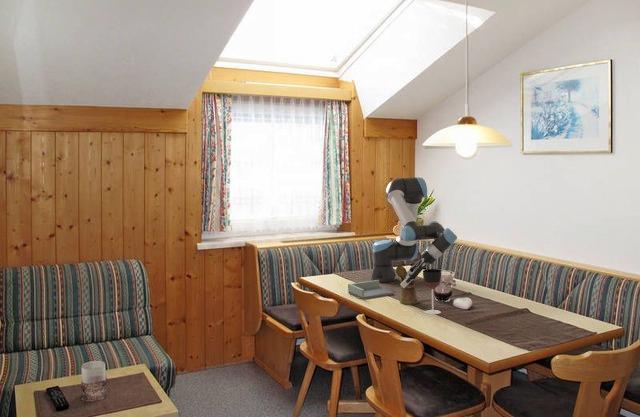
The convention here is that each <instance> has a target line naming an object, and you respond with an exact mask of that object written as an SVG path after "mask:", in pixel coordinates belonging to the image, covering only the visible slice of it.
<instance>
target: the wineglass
mask: <svg viewBox="0 0 640 417" xmlns="http://www.w3.org/2000/svg"><path fill="white" fill-rule="evenodd" d="M422 276H423V281H424V282H423V283H424V285H425V286H426V287H427V288H429V289H431V309H428V310H427V309H426V310H425V312H424V313H425V314H428V315H438V314H441V313H442V312H441V311H440V310H436V309H434V306H435V305H434V289H436V288H437V287H439V286H440V284H441V280H442V270H441V269H438V268H437V269H436V268H428V269H423V270H422Z"/></svg>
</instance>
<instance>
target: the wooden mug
mask: <svg viewBox="0 0 640 417" xmlns="http://www.w3.org/2000/svg"><path fill="white" fill-rule="evenodd" d="M407 271H408V270H407V269H406V268H405V267H404V266H403V265H401V264H398V265H397V267H396V268H395V274H396V276H398V277H399V278H401V279H400V284H401V283H402V282H403V281H404V280H405V279H406V275H407ZM400 288H401V290H400V296H399V297H400V298H399V303H400V304H401V305H409V306H410V305H417V304H418V303H419V302H418V301H419V300H418V298H417V292H416V283H415V281H414V279H413V280H412V281H411V282H410V283H409V284H408V285H407V286H406V287H405V288H403V287H402V286H401V285H400Z"/></svg>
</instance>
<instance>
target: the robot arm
mask: <svg viewBox="0 0 640 417" xmlns="http://www.w3.org/2000/svg"><path fill="white" fill-rule="evenodd" d="M427 196H428V186H427V183H426V180H425V179H424V178H423V177H416V176H414V177H400V178H399V177H398V178H394V179H393V180H391V181H390V182H389V183H388V184H387V186H386V188H385V197H386V198H385V199H386V200H387V202H388V203H389V204H391V205H392V208H393V210H394V212H395V214H396V216H397V218H398V220H399V222H400V229H399V235H398V236H397V237H396V240H395V241H392V239H382V240H378V241H375V242H374V243H373V244H372V260H373V262H372V263H373V265H372V271H371V275H370V281H374V280H379V283H390V282H391V283H392V282H394V281H396V280H397V273H396V270H395V268H394V262H403V261H406V262H407V261H408V262H409V261H413V260H415V259H416V258H418V255H419V243H418V242H417V241H426V240H433V241H432V242H431V243H430V244H429V245H428V246H427V247H426V249H424V250H423V251H422V252H421V253H420V256H421V258H419V259H418V260H417V261H416V262H414V264H412V266H410V268H409V269H408V270H406V271H407V275H406V279H405V280H404V281H403V282H402V283H401V282H400V284H399V285H400V287H401V286H402V287H403V288H405V287H406V286H407V285H408V284H409V283H410V282H411V281H412V280H413V281H414V280H415V279H416V278H417V277H418V275H420V273H421V272H423V270H425V267H427V263H428V264H429V265H433V264H434V263H435V262H436V261H437V259H439V258H440V257H442V256H443V254H444V253H445V252H446V251H447V250H448V248H450V247H451V246H452V245H453V244H454V243H455V242H456V241H457V239H458V236H457V234H455V233H454V231H452V230H451V229H450V228H449V227H447V228H446V229H445V227H443V225H442V224H441V223H439V222H438V221H434V220H433V221H431V222H429V223H428V224H425V225H423V224H422V225H419V224H418V223H417V219H418V218H417V217H418V212H419V205H420V204H422V202H423V199H424V198H427ZM399 278H400V277H399ZM400 280H401V278H400Z"/></svg>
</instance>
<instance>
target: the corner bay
mask: <svg viewBox="0 0 640 417" xmlns="http://www.w3.org/2000/svg"><path fill="white" fill-rule="evenodd" d="M347 292H348V294H349V295H352V296H354V297H356V298H359V299H361V300H366V299H367V300H368V299H373V298H379V297H385V296H392V295H394V292H393V291H391V290H388V289H386V288H383V287H381V286H380V282H379V280H374V281H372V280H368V281H361V282H355V283H348V284H347Z"/></svg>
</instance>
